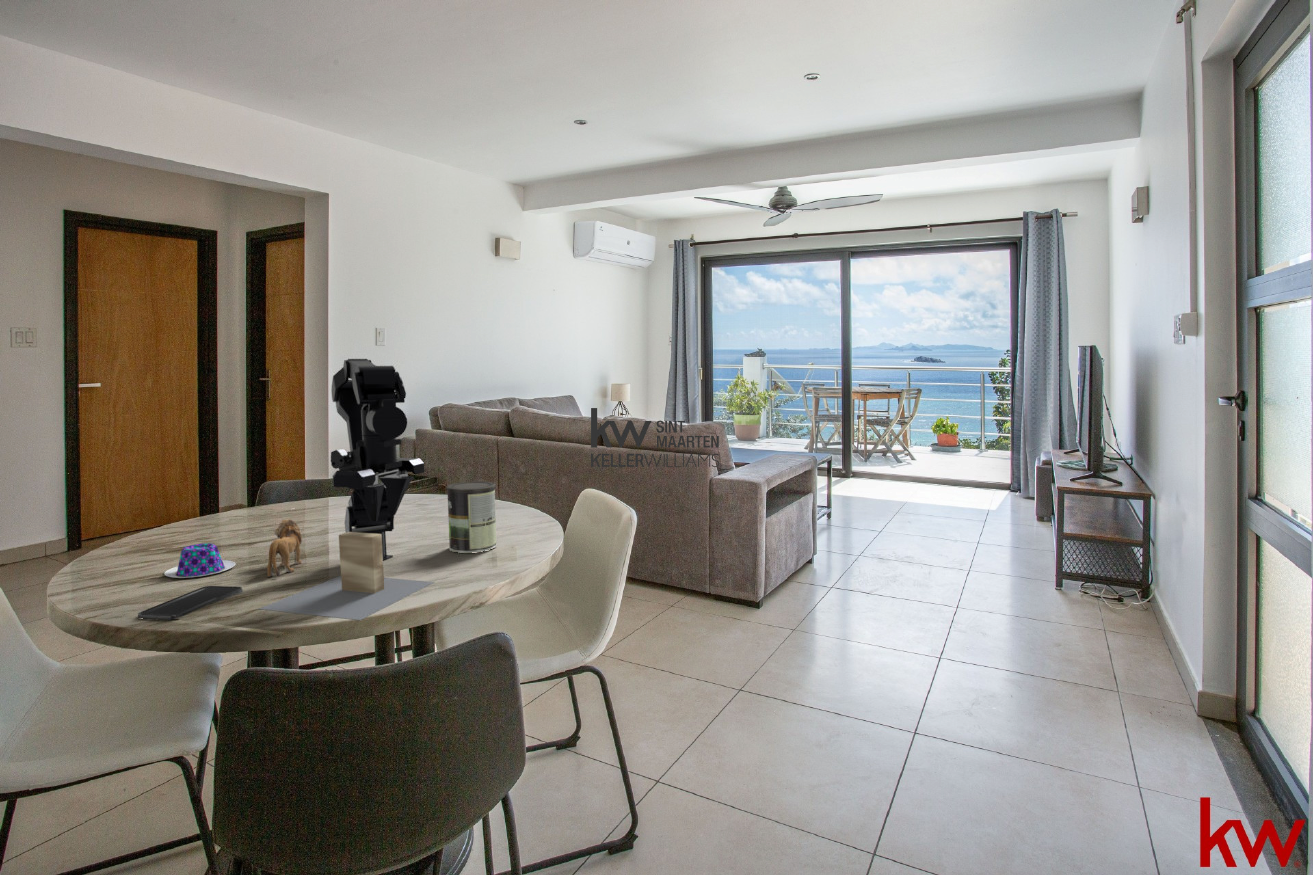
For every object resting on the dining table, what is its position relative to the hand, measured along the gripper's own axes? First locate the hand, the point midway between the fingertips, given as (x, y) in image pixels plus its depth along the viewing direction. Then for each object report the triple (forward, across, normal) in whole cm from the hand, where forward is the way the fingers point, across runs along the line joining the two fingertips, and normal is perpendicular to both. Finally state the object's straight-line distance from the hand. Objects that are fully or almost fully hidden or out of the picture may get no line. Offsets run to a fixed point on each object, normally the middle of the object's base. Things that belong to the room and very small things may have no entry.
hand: (383, 517), depth 130 cm
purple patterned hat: (+13, +4, -41) cm, 43 cm away
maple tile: (+12, +6, 0) cm, 13 cm away
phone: (+13, +20, -24) cm, 33 cm away
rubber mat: (+12, +10, 0) cm, 15 cm away
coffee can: (+12, -26, +3) cm, 28 cm away
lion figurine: (+12, -2, -26) cm, 29 cm away
